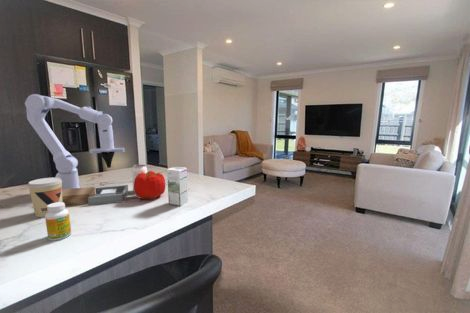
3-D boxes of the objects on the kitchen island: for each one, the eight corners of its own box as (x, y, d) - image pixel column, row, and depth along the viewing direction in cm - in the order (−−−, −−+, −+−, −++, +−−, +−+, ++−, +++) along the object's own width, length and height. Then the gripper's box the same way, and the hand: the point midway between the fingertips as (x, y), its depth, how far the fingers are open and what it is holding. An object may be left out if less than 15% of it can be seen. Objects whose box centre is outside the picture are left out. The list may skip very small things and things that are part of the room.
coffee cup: (38, 220, 77) (33, 185, 75) (28, 214, 82) (23, 181, 80) (70, 211, 85) (66, 179, 83) (58, 206, 90) (54, 175, 88)
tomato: (162, 201, 95) (160, 177, 93) (128, 202, 94) (127, 177, 92) (169, 191, 108) (168, 169, 107) (140, 191, 108) (138, 169, 106)
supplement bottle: (59, 241, 64) (55, 208, 63) (43, 240, 65) (38, 207, 64) (75, 232, 70) (72, 201, 68) (60, 231, 70) (56, 200, 69)
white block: (115, 192, 97) (115, 197, 98) (116, 188, 103) (117, 193, 103) (100, 193, 96) (100, 199, 96) (102, 189, 101) (103, 195, 101)
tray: (88, 205, 91) (88, 197, 91) (96, 194, 104) (95, 187, 104) (125, 201, 95) (124, 194, 95) (128, 191, 108) (127, 184, 108)
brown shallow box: (50, 207, 89) (49, 197, 88) (60, 198, 98) (59, 189, 97) (90, 203, 93) (89, 193, 92) (95, 195, 102) (94, 186, 102)
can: (143, 193, 105) (141, 167, 103) (130, 192, 107) (128, 166, 105) (150, 189, 112) (149, 164, 110) (138, 188, 113) (137, 164, 111)
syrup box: (188, 201, 96) (187, 167, 93) (180, 206, 90) (179, 170, 88) (176, 199, 97) (175, 166, 95) (168, 204, 92) (166, 169, 89)
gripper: (87, 140, 105) (90, 170, 107) (122, 139, 110) (124, 167, 112) (90, 139, 111) (93, 167, 114) (124, 138, 116) (126, 165, 118)
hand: (109, 167), depth 113 cm, fingers closed
